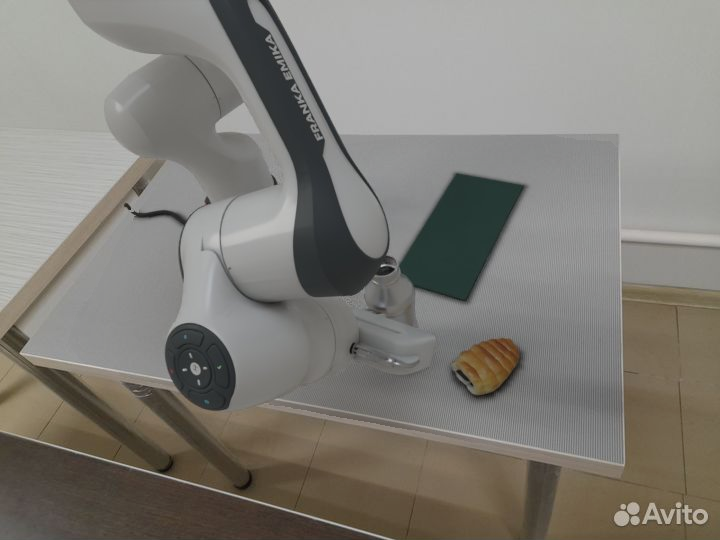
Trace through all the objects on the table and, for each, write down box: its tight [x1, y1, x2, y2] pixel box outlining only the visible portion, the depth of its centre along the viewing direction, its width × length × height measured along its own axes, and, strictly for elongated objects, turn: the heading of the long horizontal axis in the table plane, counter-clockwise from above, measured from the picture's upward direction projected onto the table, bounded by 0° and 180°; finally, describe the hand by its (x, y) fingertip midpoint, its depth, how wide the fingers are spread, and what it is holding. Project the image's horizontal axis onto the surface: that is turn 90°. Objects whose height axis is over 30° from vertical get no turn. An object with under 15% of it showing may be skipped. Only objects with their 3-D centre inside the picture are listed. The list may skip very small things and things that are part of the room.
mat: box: [399, 173, 524, 302], centre depth 91 cm, size 28×13×1 cm, turn 151°
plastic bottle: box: [363, 254, 421, 329], centre depth 70 cm, size 6×7×20 cm
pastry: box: [450, 337, 520, 396], centre depth 72 cm, size 9×7×4 cm
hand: (375, 317), depth 65 cm, fingers closed
